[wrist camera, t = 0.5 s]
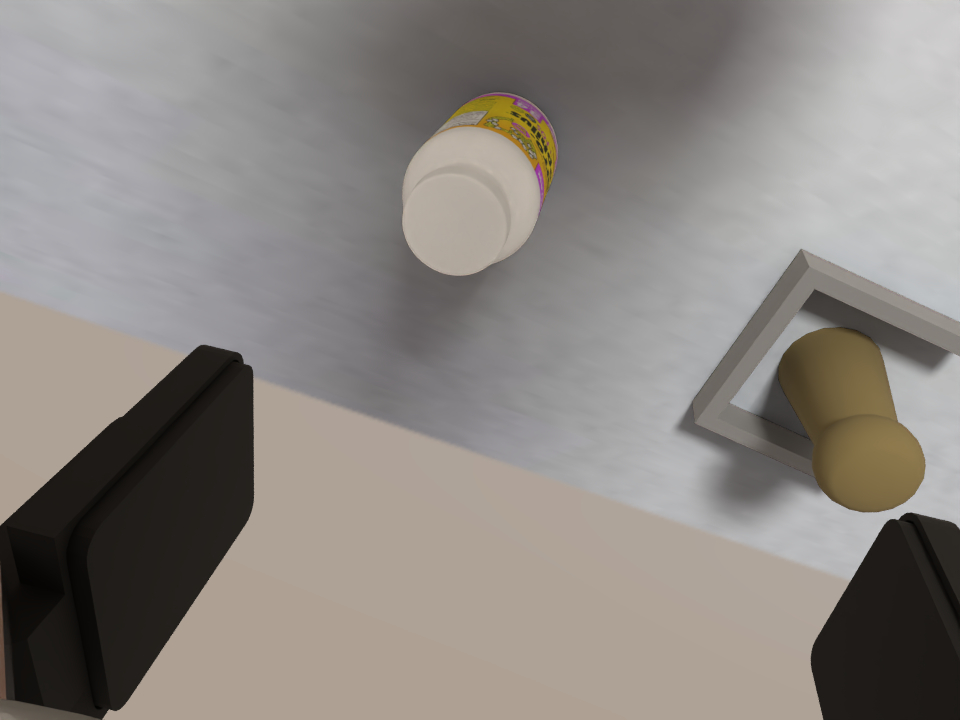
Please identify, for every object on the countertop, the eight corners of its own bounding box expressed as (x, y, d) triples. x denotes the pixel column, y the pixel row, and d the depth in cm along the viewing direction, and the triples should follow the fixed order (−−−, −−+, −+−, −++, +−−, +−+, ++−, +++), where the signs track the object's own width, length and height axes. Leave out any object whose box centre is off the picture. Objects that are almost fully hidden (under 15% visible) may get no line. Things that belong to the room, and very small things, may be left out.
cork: (760, 356, 47) (788, 466, 37) (856, 309, 44) (913, 417, 35) (805, 424, 48) (842, 545, 39) (900, 384, 46) (964, 504, 36)
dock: (801, 249, 43) (809, 266, 40) (971, 327, 43) (987, 349, 41) (692, 401, 49) (694, 423, 47) (840, 468, 50) (849, 492, 47)
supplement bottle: (574, 185, 43) (550, 277, 32) (471, 217, 45) (416, 313, 35) (537, 70, 40) (497, 129, 30) (428, 111, 43) (354, 179, 32)
